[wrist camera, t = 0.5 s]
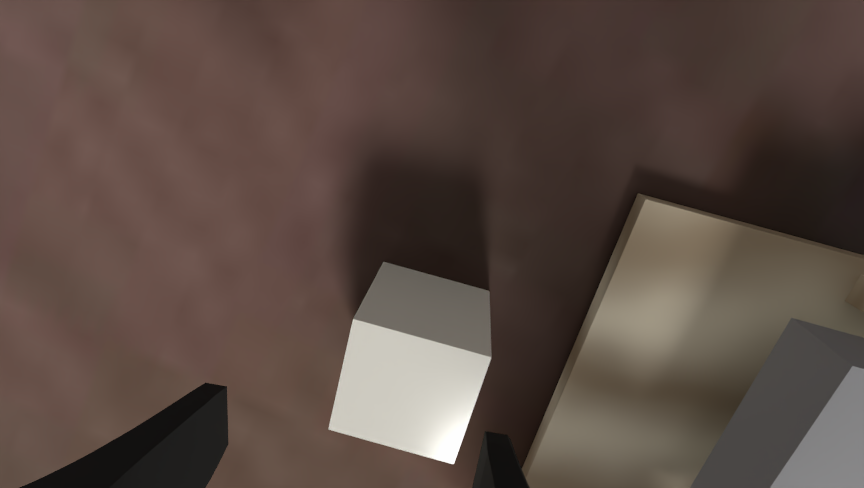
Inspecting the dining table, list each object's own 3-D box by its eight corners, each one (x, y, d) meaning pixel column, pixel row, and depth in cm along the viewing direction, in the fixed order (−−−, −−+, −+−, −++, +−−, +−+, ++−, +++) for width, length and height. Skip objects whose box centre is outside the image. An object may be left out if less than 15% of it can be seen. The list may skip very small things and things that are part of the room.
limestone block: (460, 378, 24) (453, 464, 18) (362, 351, 24) (328, 429, 18) (489, 290, 22) (491, 357, 17) (383, 261, 22) (353, 318, 17)
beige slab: (912, 605, 25) (1057, 784, 19) (511, 493, 25) (520, 633, 19) (1161, 336, 19) (1493, 465, 13) (637, 193, 20) (712, 250, 13)
